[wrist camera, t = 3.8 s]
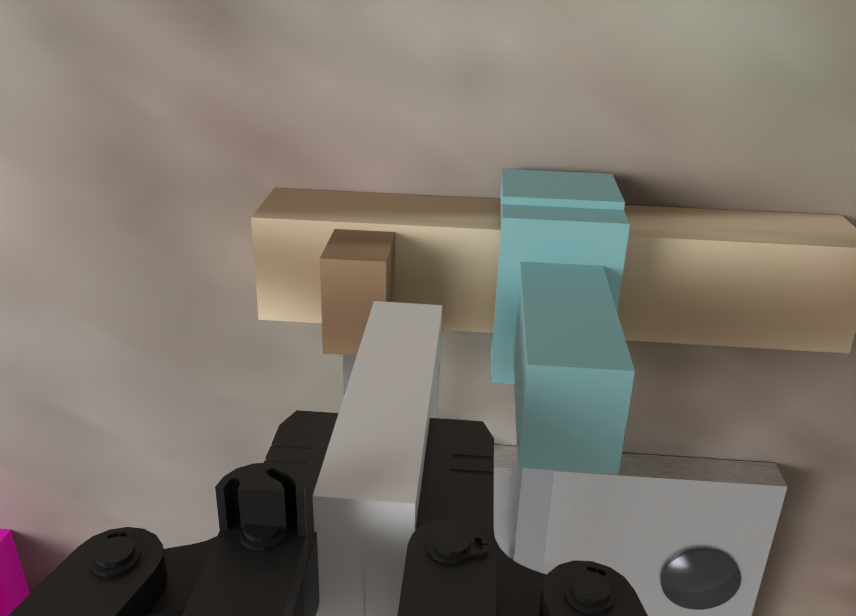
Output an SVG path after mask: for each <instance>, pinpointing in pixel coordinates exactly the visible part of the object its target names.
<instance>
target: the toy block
mask: <svg viewBox="0 0 856 616" xmlns="http://www.w3.org/2000/svg"><path fill="white" fill-rule="evenodd" d="M29 594H30V592H29V589H28V585H27V582H26V579H25V576H24V572H23V569H22V566H21V562H20V559H19V556H18V552H17V549H16V546H15V542H14V539H13V536H12V532H11V529H0V616H8V615H9V614H10V613H11V612H12V611H13V610H14V609H15V608H16V607H17V606H18V605H19V604H20V603H21V602H22V601H23V600H24V599H25V598H26V597H27V596H28V595H29Z"/></svg>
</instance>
